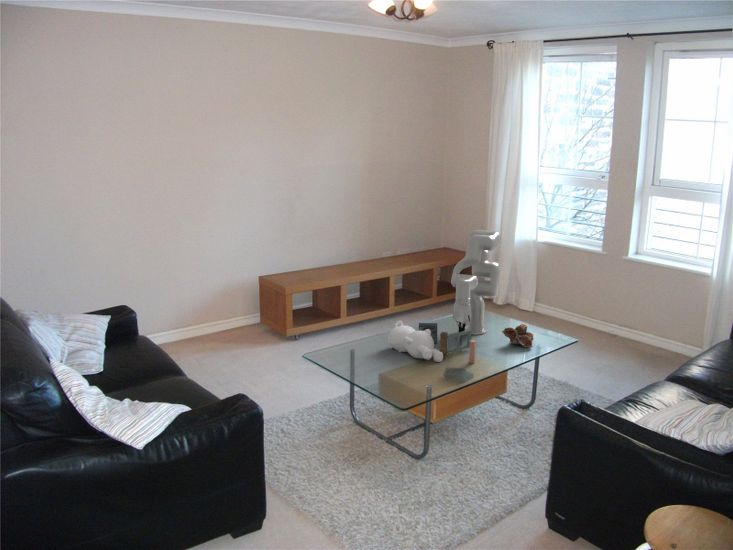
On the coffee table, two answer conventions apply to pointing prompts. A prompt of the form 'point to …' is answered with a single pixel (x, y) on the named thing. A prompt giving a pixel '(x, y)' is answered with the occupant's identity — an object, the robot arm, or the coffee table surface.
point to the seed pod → (519, 335)
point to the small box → (431, 327)
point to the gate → (458, 340)
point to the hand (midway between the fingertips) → (461, 333)
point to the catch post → (472, 351)
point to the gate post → (443, 344)
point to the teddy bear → (414, 342)
